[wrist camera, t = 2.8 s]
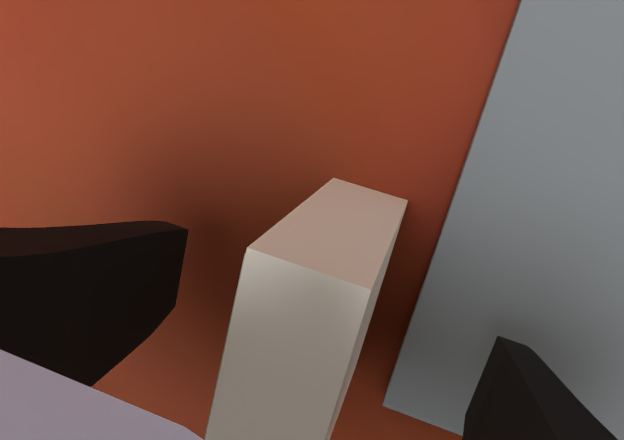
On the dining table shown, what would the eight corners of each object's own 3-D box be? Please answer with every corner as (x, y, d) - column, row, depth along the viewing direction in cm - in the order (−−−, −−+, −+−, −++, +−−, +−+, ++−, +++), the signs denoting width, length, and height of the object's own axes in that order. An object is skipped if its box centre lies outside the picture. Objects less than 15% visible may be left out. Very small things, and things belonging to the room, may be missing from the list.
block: (356, 365, 15) (294, 537, 9) (287, 339, 15) (189, 491, 10) (408, 200, 13) (371, 290, 8) (330, 176, 14) (241, 245, 8)
